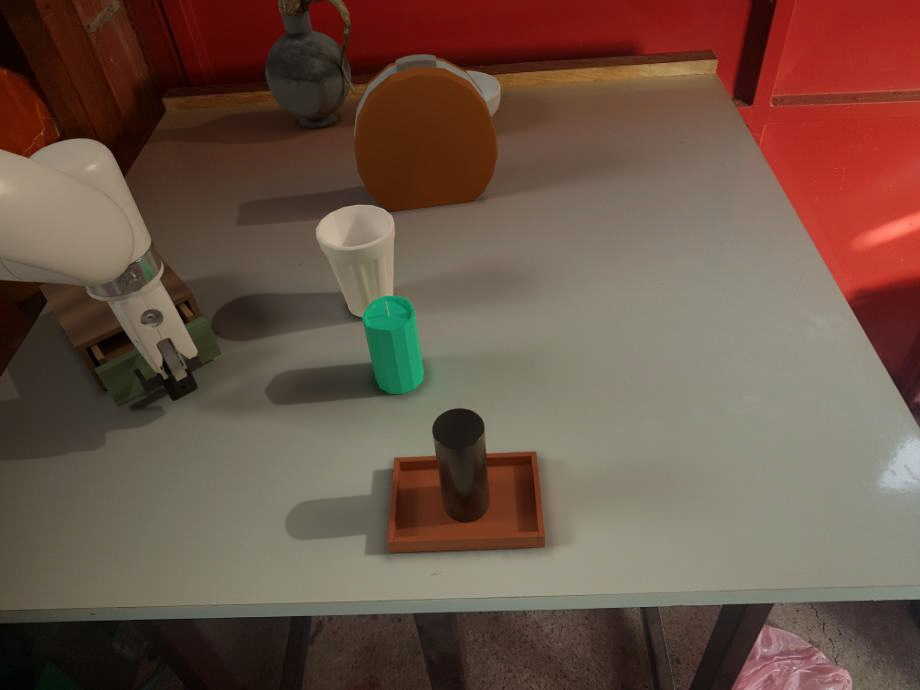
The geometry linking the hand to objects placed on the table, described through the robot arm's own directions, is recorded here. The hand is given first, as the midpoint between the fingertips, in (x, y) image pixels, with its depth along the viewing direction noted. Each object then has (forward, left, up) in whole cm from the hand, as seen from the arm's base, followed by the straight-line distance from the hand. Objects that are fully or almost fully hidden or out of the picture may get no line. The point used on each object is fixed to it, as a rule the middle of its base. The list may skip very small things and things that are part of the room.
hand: (183, 391), depth 81 cm
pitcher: (+52, +56, -4) cm, 76 cm away
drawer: (0, +11, -3) cm, 11 cm away
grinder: (+16, -32, -3) cm, 36 cm away
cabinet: (0, +19, -4) cm, 20 cm away
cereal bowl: (+70, +36, -4) cm, 79 cm away
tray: (+16, -32, -4) cm, 36 cm away
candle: (+22, -12, -4) cm, 25 cm away
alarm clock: (+51, +20, -4) cm, 55 cm away
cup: (+27, +2, -4) cm, 27 cm away
